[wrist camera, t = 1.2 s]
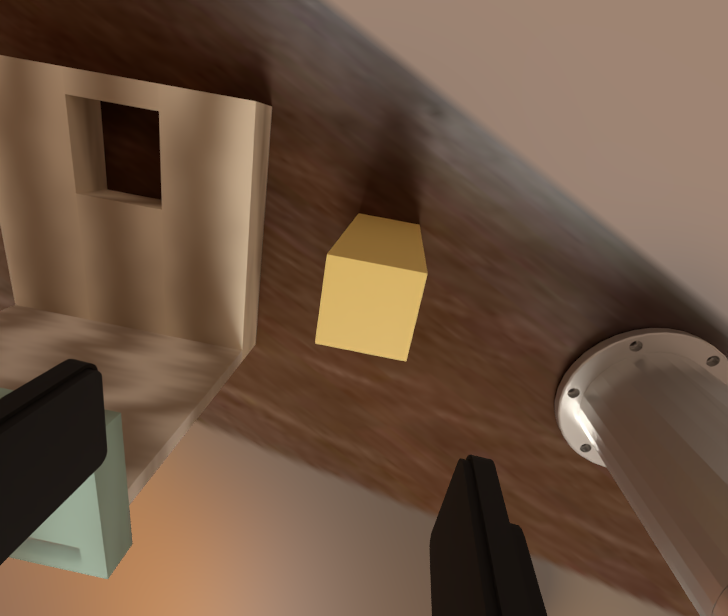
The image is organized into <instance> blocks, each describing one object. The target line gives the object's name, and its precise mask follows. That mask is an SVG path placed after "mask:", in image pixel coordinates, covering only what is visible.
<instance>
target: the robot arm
mask: <svg viewBox="0 0 728 616" xmlns="http://www.w3.org/2000/svg"><path fill="white" fill-rule="evenodd" d="M555 416H556V420H557V424H558V426H559V428H560V430H561V432H562V434H563V436H564V438H565V439H566V441H567V442H568V444H569V445H570V446H571V447H572V448H573V449H574V450H575V451H576V452H577V453H578V454H579V455H581V456H582V457H584V458H586V459H587V460H589V461H591V462H593V463H596V464H598V465H601V466H604V467H607V468H608V470H609V472H610V473H611V475H612V476H613V478H614V480H615V481H616V483H617V484H618V486H619V487H620V489H621V491H622V492H623V494H624V495H625V497H626V499H627V500H628V502H629V503H630V505H631V507H632V508H633V510H634V511H635V513H636V514H637V516H638V518H639V519H640V521H641V522H642V524H643V526H644V527H645V529H646V530H647V532H648V534H649V535H650V537H651V538H652V540H653V541H654V543H655V545H656V546H657V548H658V549H659V551H660V553H661V554H662V556H663V557H664V559H665V560H666V562H667V564H668V565H669V567H670V568H671V570H672V572H673V573H674V575H675V576H676V578H677V580H678V581H679V583H680V584H681V586H682V587H683V589H684V591H685V592H686V594H687V595H688V597H689V599H690V600H691V602H692V603H693V605H694V607H695V608H696V610H697V611H698V613H699V614H700V616H728V359H727V358H726V356H725V355H724V354H722V353H721V352H720V351H719V350H718V349H717V348H715V347H714V346H713V345H711V344H710V343H708V342H706V341H705V340H703V339H701V338H700V337H698V336H695V335H693V334H690V333H688V332H685V331H680V330H675V329H670V328H646V329H638V330H632V331H629V332H625V333H622V334H618V335H615V336H613V337H611V338H609V339H606V340H604V341H602V342H600V343H598V344H597V345H595V346H594V347H592V348H591V349H589V350H588V351H586V352H585V353H584V354H583V355H582V356H580V357H579V358H578V359H577V360H576V361H575V362H574V363H573V364H572V365H571V367H570V368H569V369H568V371H567V372H566V373H565V375H564V376H563V378H562V380H561V383H560V385H559V387H558V389H557V393H556V398H555ZM106 456H107V437H106V423H105V410H104V396H103V382H102V374H101V373H100V372H99V371H98V369H97V367H96V365H95V364H92V363H88V362H84V361H80V360H76V359H67V360H65V361H63V362H61V363H60V364H58V365H56V366H55V367H53V368H51V369H49V370H48V371H46V372H44V373H43V374H41V375H39V376H38V377H36V378H34V379H32V380H31V381H29V382H27V383H26V384H24V385H22V386H21V387H19V388H17V389H15V390H14V391H12V392H10V393H9V394H7V395H5V396H4V397H2V398H0V565H1V564H2V563H3V562H4V561H5V560H6V559H7V558H8V557H9V556H10V555H11V554H12V553H13V552H14V551H15V550H16V549H17V548H18V547H19V546H20V545H21V544H22V543H23V542H24V541H25V540H26V539H27V538H28V537H29V536H30V535H31V534H32V533H33V532H34V531H35V530H36V529H37V528H38V527H39V526H40V525H41V524H42V523H43V522H44V521H45V520H46V519H47V518H48V517H49V516H50V515H51V514H53V513H54V512H55V511H56V510H57V509H58V508H59V507H60V506H61V505H62V504H63V503H64V502H65V501H66V500H67V499H68V498H69V497H70V496H71V495H72V494H73V493H74V492H75V491H76V490H77V489H78V488H79V487H80V486H81V485H82V484H83V483H84V482H85V481H86V480H87V479H88V478H89V477H90V476H91V475H92V474H93V473H94V472H95V471H96V470H97V469H98V468H99V467H100V466H101V465H102V464H103V462H104V460H105V458H106ZM430 574H431V599H432V600H431V601H432V616H547V613H546V609H545V606H544V603H543V599H542V596H541V592H540V589H539V585H538V582H537V578H536V575H535V571H534V568H533V564H532V561H531V557H530V554H529V550H528V547H527V543H526V540H525V536H524V534H523V531H522V529H521V528H520V527H519V525H515V524H511V523H510V522H509V519H508V515H507V511H506V507H505V503H504V499H503V495H502V491H501V487H500V484H499V480H498V476H497V472H496V468H495V464H494V462H493V461H492V460H491V459H486V458H482V457H478V456H474V455H468V456H467V458H466V460H465V459H459V461H458V463H457V466H456V468H455V471H454V474H453V476H452V479H451V482H450V485H449V487H448V490H447V493H446V495H445V498H444V501H443V503H442V506H441V509H440V511H439V514H438V517H437V519H436V522H435V525H434V528H433V530H432V533H431V538H430Z"/></svg>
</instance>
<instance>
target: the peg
mask: <svg viewBox="0 0 728 616" xmlns="http://www.w3.org/2000/svg"><path fill="white" fill-rule="evenodd" d="M427 274H428V273H427V267H426V261H425V255H424V249H423V243H422V237H421V231H420V225H418V224H413V223H408V222H403V221H397V220H392V219H387V218H381V217H376V216H371V215H365V214H360V213H358V215H357V216H356V217H355V219H354V220H353V221H352V223H351V224H350V225H349V226H348V228H347V229H346V230H345V232H344V233H343V234H342V236H341V237H340V238H339V239H338V241H337V242H336V243H335V245H334V246H333V247H332V248H331V250H330V251H329V252H328V254H327V258H326V266H325V273H324V280H323V288H322V295H321V303H320V310H319V317H318V325H317V332H316V340H315V343H316V344H321V345H326V346H331V347H336V348H341V349H346V350H351V351H356V352H361V353H366V354H371V355H376V356H381V357H386V358H391V359H396V360H401V361H406V360H407V356H408V352H409V348H410V344H411V340H412V336H413V331H414V327H415V323H416V319H417V315H418V311H419V307H420V303H421V298H422V294H423V290H424V286H425V282H426V278H427Z"/></svg>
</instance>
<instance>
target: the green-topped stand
mask: <svg viewBox="0 0 728 616" xmlns="http://www.w3.org/2000/svg"><path fill="white" fill-rule="evenodd" d="M100 101H105V102H111V103H116V104H122V105H127V106H133V107H138V108H144V109H149V110H154V111H159V129H160V162H161V195H162V200H160V199H155V198H150V197H144V196H139V195H134V194H129V193H123V192H118V191H113V190H108V189H107V178H106V166H105V153H104V141H103V129H102V117H101V105H100ZM271 115H272V106H269V105H266V104H263V103H259V102H256V101H251V100H246V99H240V98H235V97H229V96H224V95H218V94H213V93H207V92H202V91H196V90H190V89H185V88H179V87H174V86H168V85H163V84H157V83H152V82H146V81H141V80H135V79H130V78H124V77H119V76H113V75H108V74H102V73H97V72H91V71H86V70H80V69H75V68H69V67H64V66H58V65H53V64H47V63H41V62H36V61H30V60H25V59H19V58H14V57H8V56H3V55H0V225H1V231H2V236H3V241H4V246H5V252H6V257H7V262H8V267H9V273H10V278H11V283H12V288H13V294H14V299H15V304H16V305H14V306H12V307H9V308H7V309H4V310H1V311H0V398H2V397H4V396H5V395H7V394H9V393H10V392H12V391H14V390H15V389H17V388H19V387H21V386H22V385H24V384H26V383H27V382H29V381H31V380H32V379H34V378H36V377H38V376H39V375H41V374H43V373H44V372H46V371H48V370H49V369H51V368H53V367H55V366H56V365H58V364H60V363H61V362H63V361H65V360H67V359H76V360H80V361H84V362H88V363H92V364H95V365H96V367H97V369H98V371H99V372H100V373H101V374H102V382H103V396H104V410H105V423H106V437H107V456H106V458H105V460H104V462H103V464H102V465H101V466H100V467H99V468H98V469H97V470H96V471H95V472H94V473H93V474H92V475H91V476H90V477H89V478H88V479H87V480H86V481H85V482H84V483H83V484H82V485H81V486H80V487H79V488H78V489H77V490H76V491H75V492H74V493H73V494H72V495H71V496H70V497H69V498H68V499H67V500H66V501H65V502H64V503H63V504H62V505H61V506H60V507H59V508H58V509H57V510H56V511H55V512H54V513H53V514H51V515H50V516H49V517H48V518H47V519H46V520H45V521H44V522H43V523H42V524H41V525H40V526H39V527H38V528H37V529H36V530H35V531H34V532H33V533H32V534H31V535H30V536H29V537H28V538H27V539H26V540H25V541H24V542H23V543H22V544H21V545H20V546H19V547H18V548H17V549H16V550H15V551H14V552H13V553H12V554H11V555H10V556H9V557H11V558H15V559H20V560H24V561H28V562H33V563H37V564H42V565H46V566H51V567H56V568H60V569H64V570H69V571H73V572H78V573H82V574H87V575H92V576H96V577H101V578H105V579H108V578H109V577H110V575H111V574H112V573H113V571H114V570H115V568H116V567H117V565H118V564H119V563H120V561H121V560H122V558H123V557H124V555H125V554H126V553H127V551H128V550H129V548H130V546H131V545H132V533H131V524H130V510H129V505H130V504H131V502H132V501H133V500H134V498H135V497H136V496H137V495H138V494H139V492H140V491H141V490H142V489H143V487H144V486H145V485H146V483H147V482H148V481H149V480H150V478H151V477H152V476H153V474H154V473H155V472H156V470H157V469H158V468H159V467H160V465H161V464H162V463H163V461H164V460H165V459H166V458H167V457H168V455H169V454H170V453H171V451H172V450H173V449H174V448H175V446H176V445H177V444H178V443H179V441H180V440H181V439H182V437H183V436H184V435H185V434H186V432H187V431H188V430H189V428H190V427H191V426H192V425H193V423H194V422H195V421H196V420H197V418H198V417H199V416H200V414H201V413H202V412H203V411H204V409H205V408H206V407H207V406H208V404H209V403H210V402H211V400H212V399H213V398H214V397H215V395H216V394H217V393H218V391H219V390H220V389H221V388H222V386H223V385H224V384H225V383H226V381H227V380H228V379H229V377H230V376H231V375H232V374H233V372H234V371H235V370H236V368H237V367H238V366H239V365H240V363H241V362H242V361H243V360H244V358H245V357H246V356H247V354H248V353H249V352H250V351H251V349H252V348H253V347H254V346H255V344H256V331H257V317H258V302H259V288H260V274H261V259H262V245H263V230H264V216H265V201H266V187H267V173H268V158H269V144H270V129H271Z"/></svg>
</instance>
